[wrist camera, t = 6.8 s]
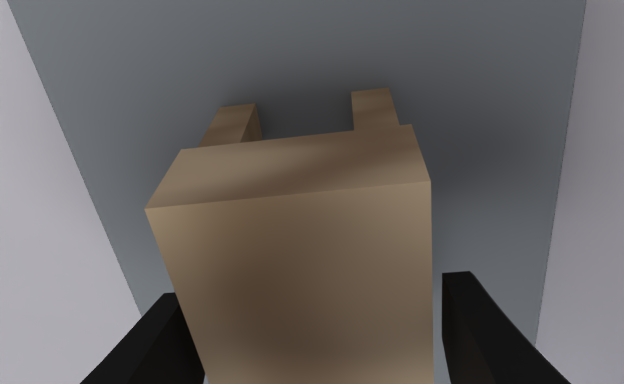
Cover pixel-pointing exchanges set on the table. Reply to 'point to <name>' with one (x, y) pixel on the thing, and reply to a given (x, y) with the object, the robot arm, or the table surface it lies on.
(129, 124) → the slate mat
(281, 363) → the oak footstool
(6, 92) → the table surface
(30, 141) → the table surface
